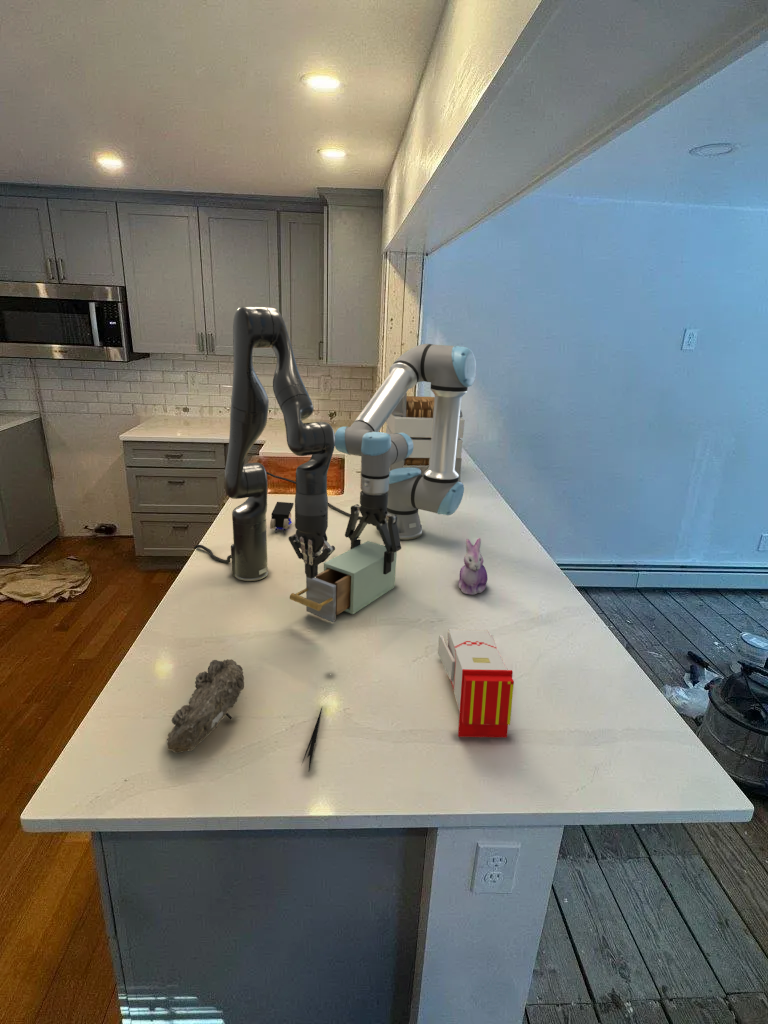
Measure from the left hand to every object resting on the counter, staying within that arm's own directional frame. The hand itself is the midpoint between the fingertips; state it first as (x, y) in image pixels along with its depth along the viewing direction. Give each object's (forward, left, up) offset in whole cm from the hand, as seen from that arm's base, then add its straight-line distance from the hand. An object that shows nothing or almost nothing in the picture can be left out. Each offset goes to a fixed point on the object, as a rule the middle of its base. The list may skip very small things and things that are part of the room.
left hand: (311, 576), depth 136 cm
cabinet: (+6, +19, -13) cm, 24 cm away
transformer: (-7, +146, -13) cm, 147 cm away
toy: (+41, -13, -13) cm, 45 cm away
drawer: (+3, +9, -12) cm, 15 cm away
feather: (+15, -31, -13) cm, 37 cm away
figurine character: (-36, +56, -13) cm, 68 cm away
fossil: (-4, -37, -13) cm, 40 cm away
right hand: (+8, +24, -7) cm, 26 cm away
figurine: (+35, +35, -13) cm, 51 cm away
